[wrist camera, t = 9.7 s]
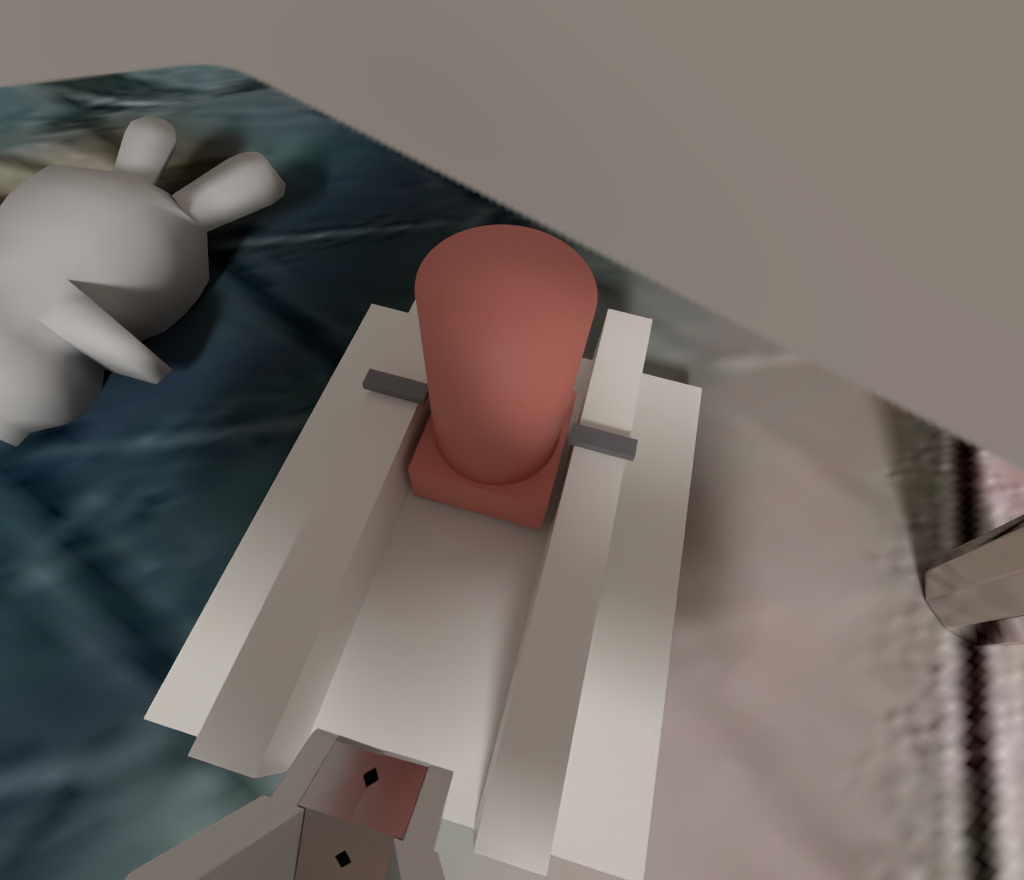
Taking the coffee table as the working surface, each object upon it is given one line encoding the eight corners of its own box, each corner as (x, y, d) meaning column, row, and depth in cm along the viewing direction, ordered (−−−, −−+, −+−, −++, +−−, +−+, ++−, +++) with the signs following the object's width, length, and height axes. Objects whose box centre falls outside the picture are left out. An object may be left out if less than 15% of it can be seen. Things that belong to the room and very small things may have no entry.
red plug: (414, 494, 18) (373, 336, 11) (455, 391, 20) (444, 201, 13) (540, 530, 18) (584, 392, 10) (568, 421, 20) (621, 243, 12)
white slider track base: (171, 719, 16) (60, 715, 12) (377, 327, 23) (356, 239, 19) (627, 871, 15) (688, 927, 11) (688, 408, 22) (737, 334, 18)
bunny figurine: (-227, 332, 17) (92, 59, 22) (-68, 403, 22) (164, 164, 27) (0, 443, 16) (282, 124, 21) (117, 493, 20) (323, 222, 26)
